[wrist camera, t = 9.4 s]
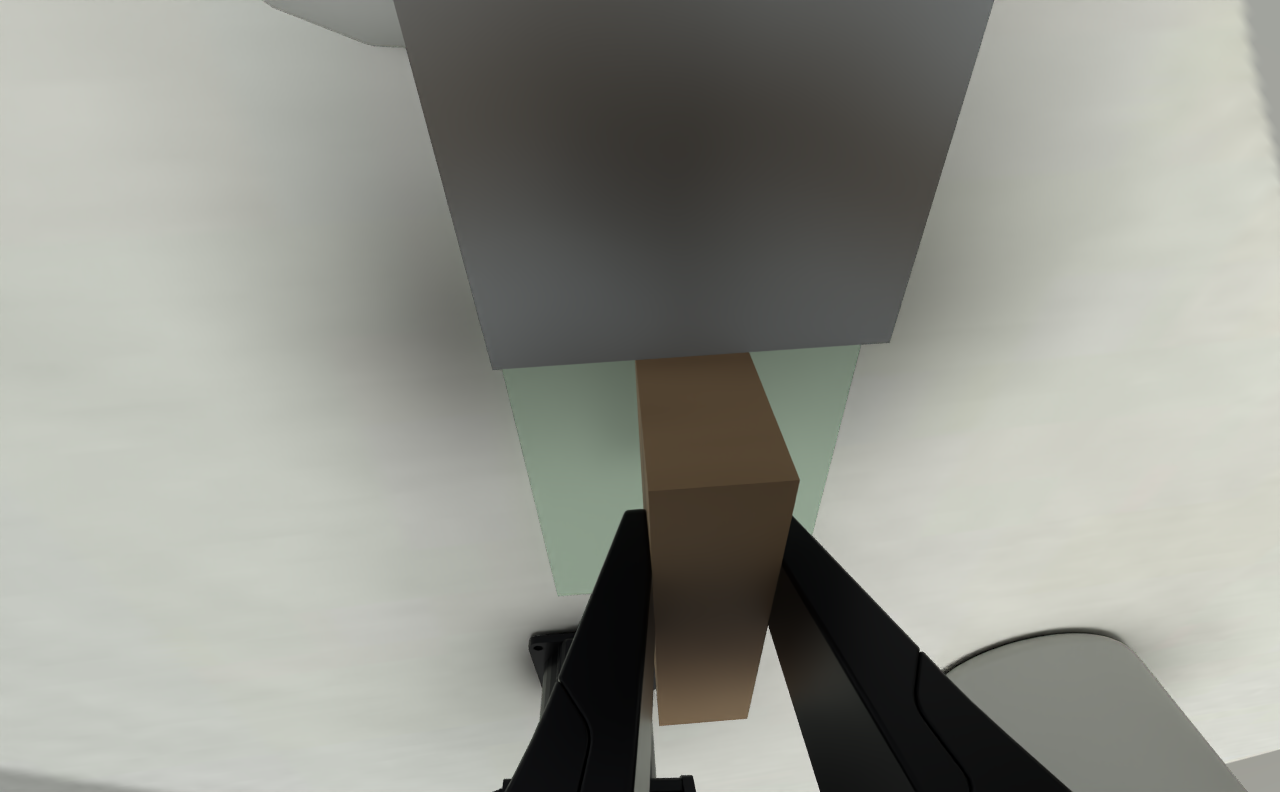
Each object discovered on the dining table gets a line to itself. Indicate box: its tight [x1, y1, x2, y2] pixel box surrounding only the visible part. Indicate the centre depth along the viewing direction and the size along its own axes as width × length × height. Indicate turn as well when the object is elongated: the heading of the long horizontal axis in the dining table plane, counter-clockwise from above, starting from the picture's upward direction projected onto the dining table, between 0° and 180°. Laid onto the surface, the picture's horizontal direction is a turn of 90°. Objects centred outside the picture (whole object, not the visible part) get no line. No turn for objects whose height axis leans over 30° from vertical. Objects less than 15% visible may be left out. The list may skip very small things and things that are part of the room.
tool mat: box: [502, 345, 861, 596], centre depth 18 cm, size 18×11×1 cm, turn 2°
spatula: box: [393, 0, 994, 726], centre depth 9 cm, size 14×7×4 cm, turn 2°
